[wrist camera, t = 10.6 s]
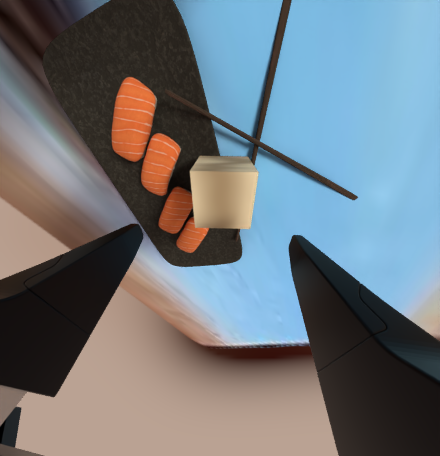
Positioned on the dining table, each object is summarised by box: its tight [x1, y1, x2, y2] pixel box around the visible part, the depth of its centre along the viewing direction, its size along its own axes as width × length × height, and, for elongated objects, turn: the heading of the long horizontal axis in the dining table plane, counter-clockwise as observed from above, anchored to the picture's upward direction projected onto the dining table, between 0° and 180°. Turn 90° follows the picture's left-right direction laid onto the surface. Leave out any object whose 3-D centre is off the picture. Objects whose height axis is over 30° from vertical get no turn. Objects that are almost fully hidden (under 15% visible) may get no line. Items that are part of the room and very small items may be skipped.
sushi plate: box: [43, 0, 358, 267], centre depth 18 cm, size 29×30×4 cm
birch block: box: [190, 156, 258, 229], centre depth 15 cm, size 5×5×6 cm
